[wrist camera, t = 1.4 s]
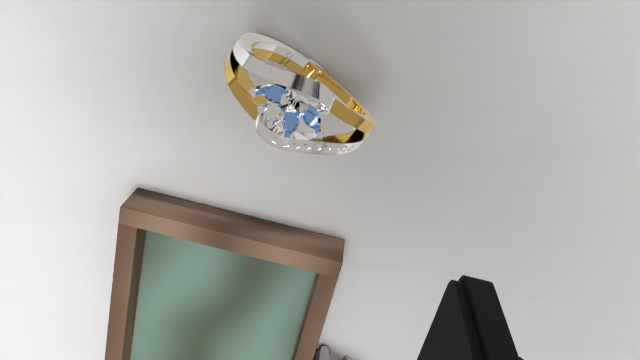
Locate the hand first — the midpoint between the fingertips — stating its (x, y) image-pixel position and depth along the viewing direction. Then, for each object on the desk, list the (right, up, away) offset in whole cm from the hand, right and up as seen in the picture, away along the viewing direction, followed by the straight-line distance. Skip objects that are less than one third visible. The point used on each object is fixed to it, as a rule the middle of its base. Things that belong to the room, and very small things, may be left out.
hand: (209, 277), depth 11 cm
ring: (+2, +7, +17) cm, 19 cm away
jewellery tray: (-4, -6, +24) cm, 25 cm away
